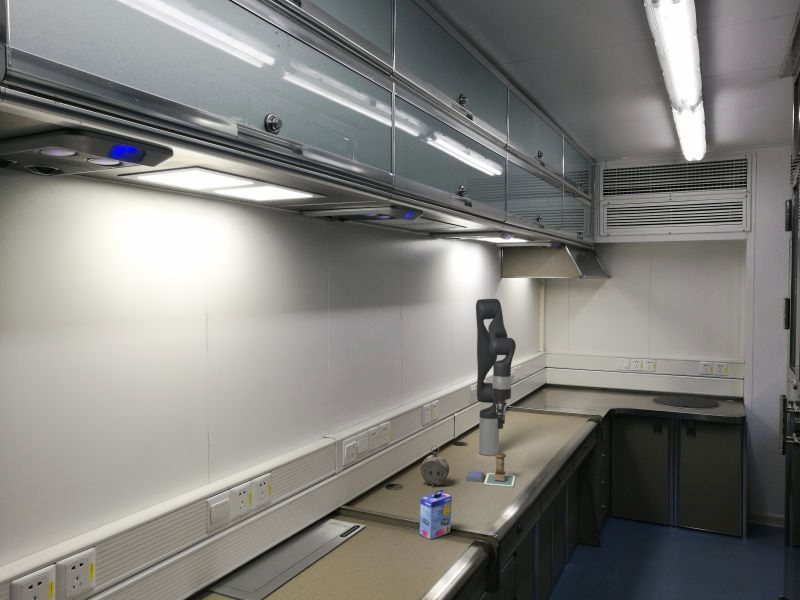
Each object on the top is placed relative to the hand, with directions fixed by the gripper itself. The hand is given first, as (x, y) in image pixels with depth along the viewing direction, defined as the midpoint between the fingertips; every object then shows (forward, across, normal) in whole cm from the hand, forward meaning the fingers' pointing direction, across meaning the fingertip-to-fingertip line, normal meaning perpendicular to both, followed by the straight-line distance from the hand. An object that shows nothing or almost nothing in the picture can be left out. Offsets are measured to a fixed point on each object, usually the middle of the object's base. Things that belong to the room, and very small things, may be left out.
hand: (501, 426), depth 258 cm
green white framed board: (+22, 0, 0) cm, 22 cm away
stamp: (+22, 0, 0) cm, 22 cm away
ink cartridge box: (+22, +61, -16) cm, 66 cm away
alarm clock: (+22, +15, -25) cm, 36 cm away
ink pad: (+22, 0, -10) cm, 24 cm away
